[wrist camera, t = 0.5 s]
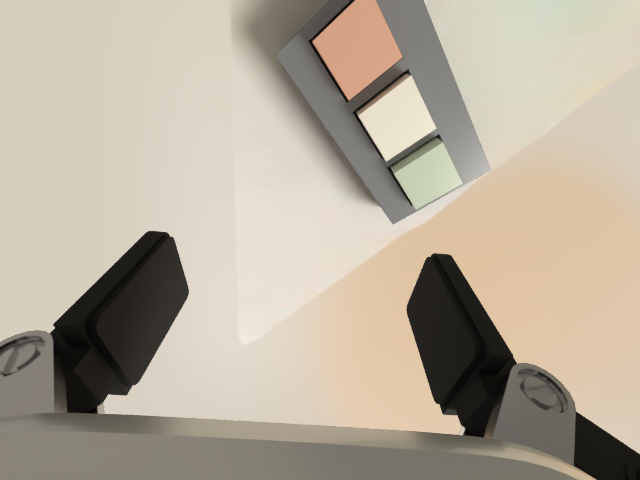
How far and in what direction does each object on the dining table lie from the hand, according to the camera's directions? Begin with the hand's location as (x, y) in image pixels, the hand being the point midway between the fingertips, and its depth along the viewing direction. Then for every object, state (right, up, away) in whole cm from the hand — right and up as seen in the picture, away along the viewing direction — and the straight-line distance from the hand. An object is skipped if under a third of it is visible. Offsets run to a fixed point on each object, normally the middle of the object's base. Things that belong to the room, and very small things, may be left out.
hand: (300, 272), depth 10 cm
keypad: (+8, +16, +19) cm, 26 cm away
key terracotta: (+4, +19, +14) cm, 24 cm away
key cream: (+8, +14, +17) cm, 24 cm away
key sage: (+12, +10, +21) cm, 26 cm away
